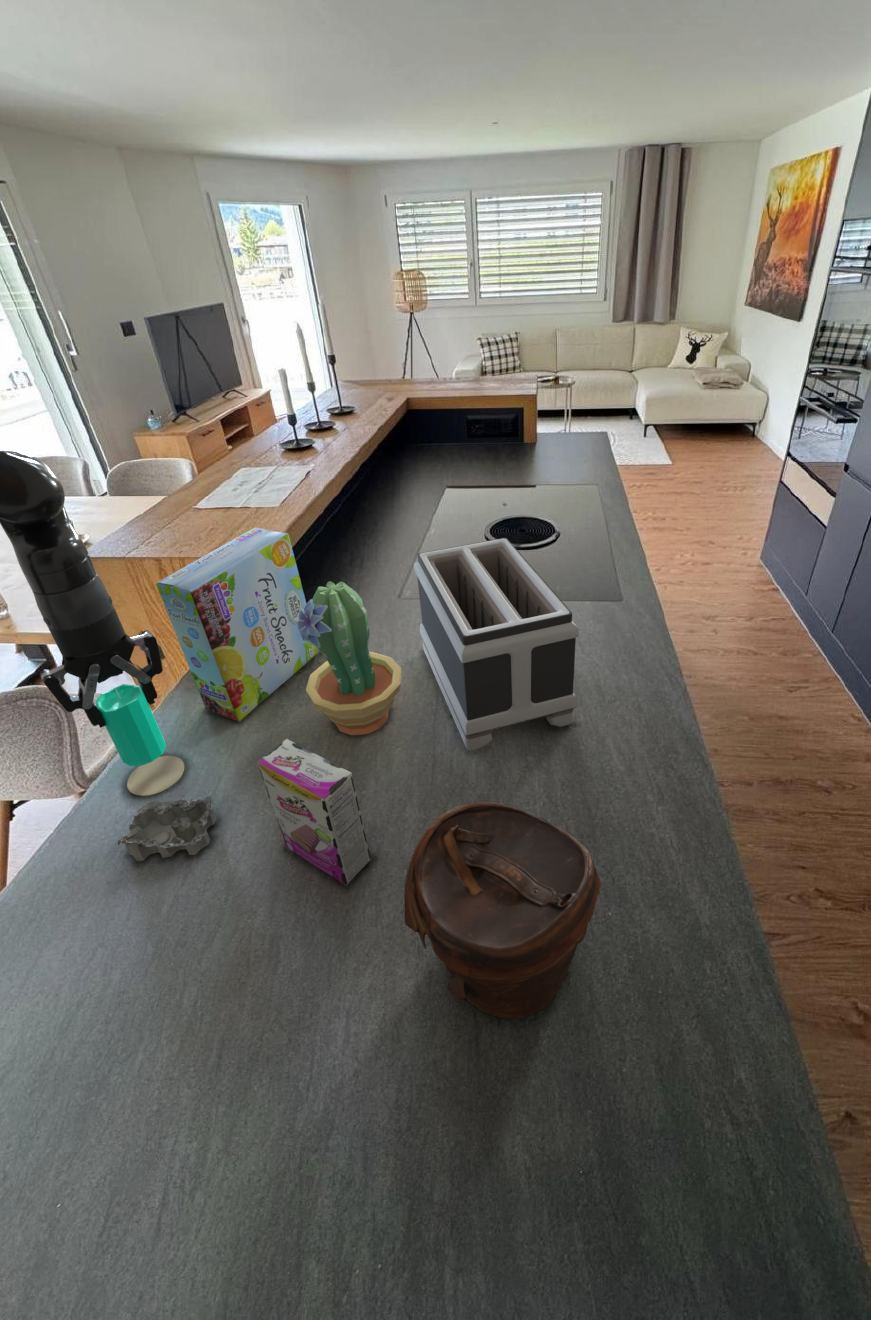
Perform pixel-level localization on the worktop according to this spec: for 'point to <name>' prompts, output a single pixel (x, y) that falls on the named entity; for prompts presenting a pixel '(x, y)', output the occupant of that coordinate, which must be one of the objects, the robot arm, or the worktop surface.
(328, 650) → the potted cactus
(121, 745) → the candle
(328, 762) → the candy bar box
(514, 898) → the case
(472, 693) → the toaster
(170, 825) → the egg carton
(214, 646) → the snack box
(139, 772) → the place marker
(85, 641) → the robot arm
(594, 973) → the worktop surface
